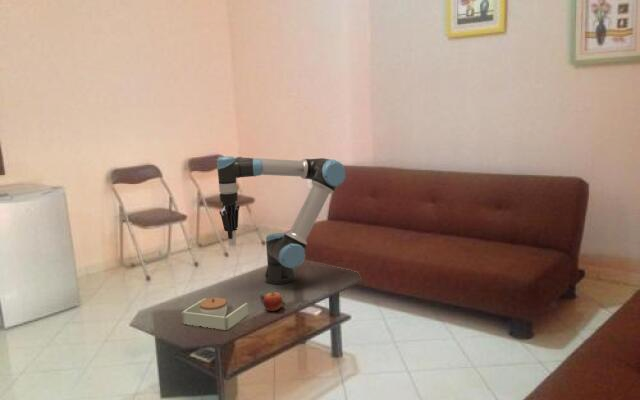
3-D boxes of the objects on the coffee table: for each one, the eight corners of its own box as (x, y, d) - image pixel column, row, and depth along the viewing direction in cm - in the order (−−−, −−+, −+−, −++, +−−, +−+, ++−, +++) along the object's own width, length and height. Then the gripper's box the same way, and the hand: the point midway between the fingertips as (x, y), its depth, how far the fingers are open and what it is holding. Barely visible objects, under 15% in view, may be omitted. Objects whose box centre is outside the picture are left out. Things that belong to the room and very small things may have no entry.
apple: (286, 309, 222) (285, 291, 221) (270, 314, 218) (269, 296, 216) (276, 304, 229) (275, 286, 227) (260, 309, 224) (259, 291, 223)
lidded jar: (222, 326, 209) (220, 303, 207) (196, 325, 211) (194, 303, 209) (232, 315, 219) (230, 293, 217) (207, 315, 221) (205, 293, 219)
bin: (205, 309, 227) (204, 298, 226) (248, 314, 219) (247, 303, 218) (182, 324, 213) (181, 312, 212) (227, 330, 205) (226, 318, 204)
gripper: (228, 189, 238) (233, 241, 243) (212, 194, 227) (217, 248, 231) (243, 190, 235) (247, 242, 240) (227, 195, 224) (232, 249, 228)
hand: (232, 245), depth 235 cm, fingers closed
